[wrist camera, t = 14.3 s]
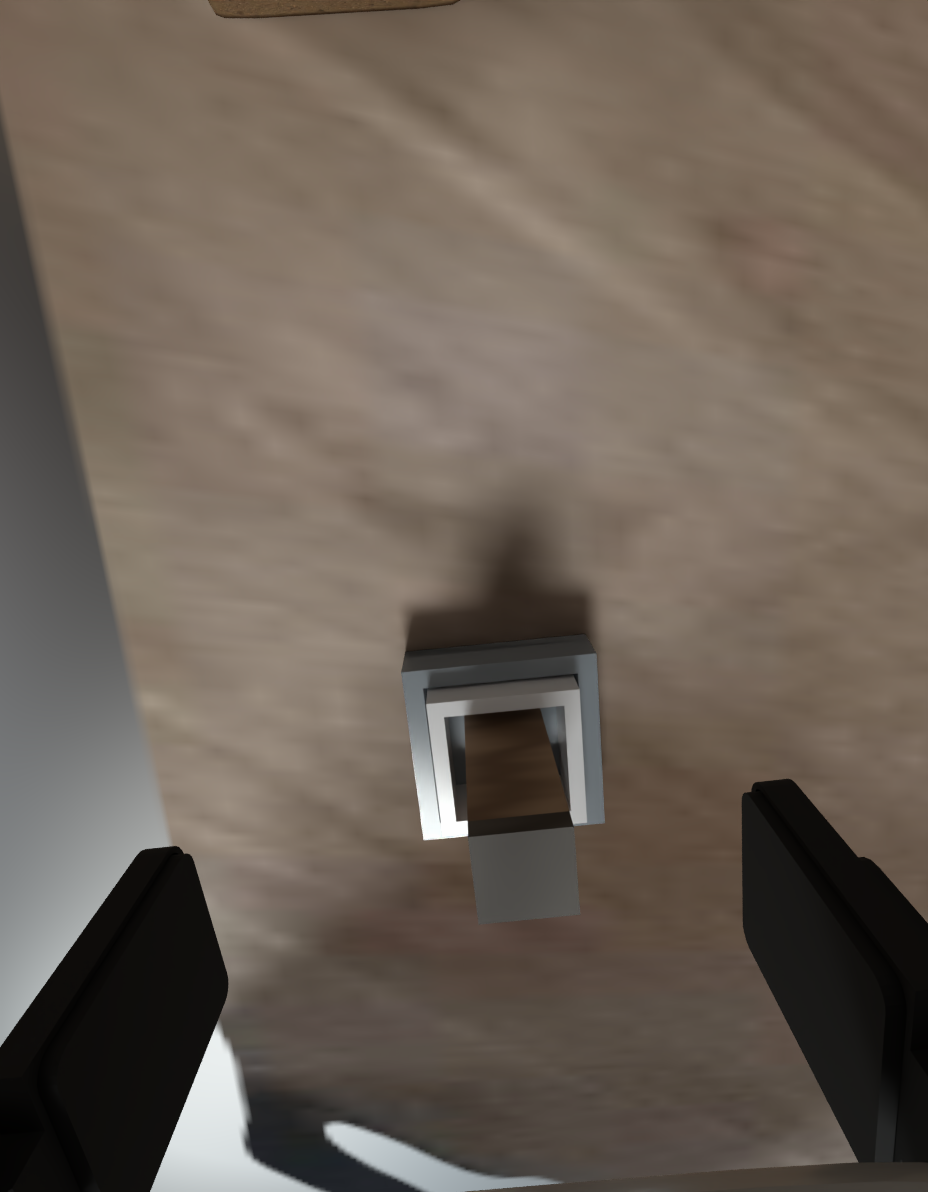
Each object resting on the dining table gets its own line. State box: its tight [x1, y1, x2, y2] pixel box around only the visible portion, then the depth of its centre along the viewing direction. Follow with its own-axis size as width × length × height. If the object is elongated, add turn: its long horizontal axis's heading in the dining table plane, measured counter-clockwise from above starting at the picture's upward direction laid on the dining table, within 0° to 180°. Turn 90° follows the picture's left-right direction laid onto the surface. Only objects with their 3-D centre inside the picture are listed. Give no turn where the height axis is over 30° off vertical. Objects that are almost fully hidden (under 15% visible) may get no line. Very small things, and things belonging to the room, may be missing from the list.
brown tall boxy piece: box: [464, 708, 580, 924], centre depth 31 cm, size 4×4×12 cm
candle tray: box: [401, 634, 605, 840], centre depth 36 cm, size 10×10×4 cm
